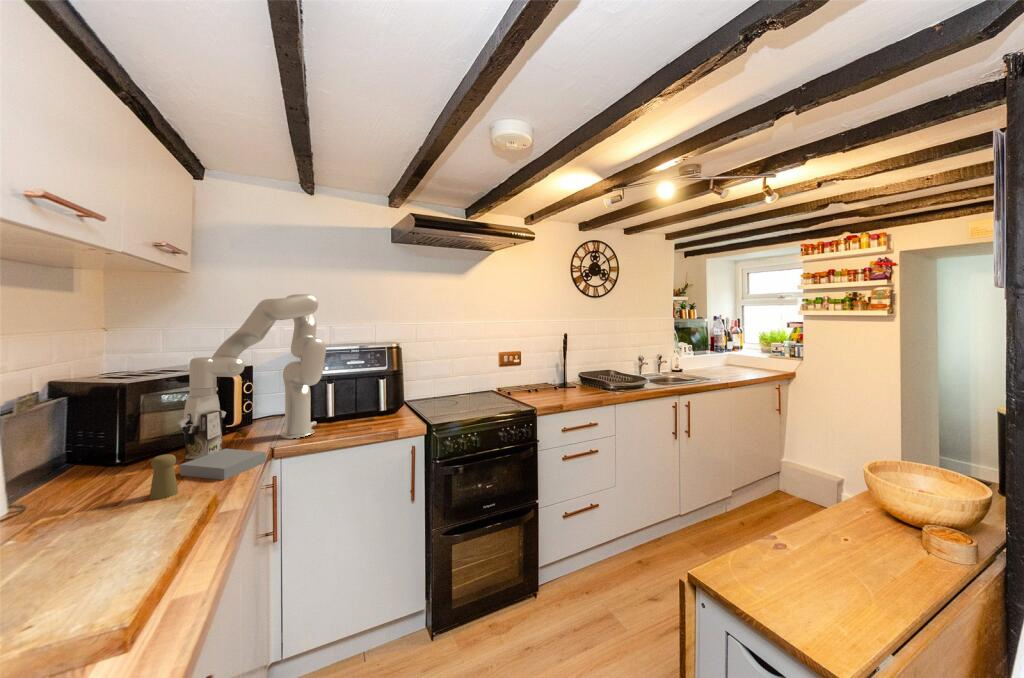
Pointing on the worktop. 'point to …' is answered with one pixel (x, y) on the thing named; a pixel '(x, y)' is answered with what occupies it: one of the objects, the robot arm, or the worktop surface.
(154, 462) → the olive pepper mill
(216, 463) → the podium
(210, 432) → the coffee box
